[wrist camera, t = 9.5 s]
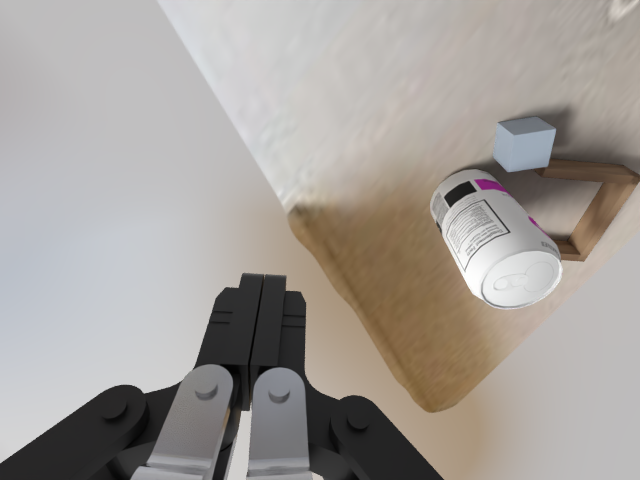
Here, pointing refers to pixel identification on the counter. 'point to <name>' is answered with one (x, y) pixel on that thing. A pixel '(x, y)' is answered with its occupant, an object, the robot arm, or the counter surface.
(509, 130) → the slate-blue block
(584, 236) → the frame
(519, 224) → the supplement can
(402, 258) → the counter surface
